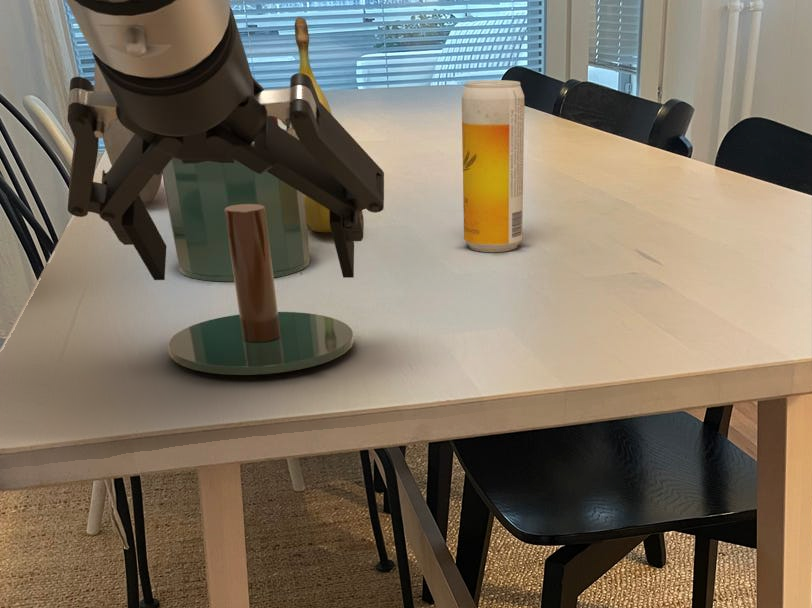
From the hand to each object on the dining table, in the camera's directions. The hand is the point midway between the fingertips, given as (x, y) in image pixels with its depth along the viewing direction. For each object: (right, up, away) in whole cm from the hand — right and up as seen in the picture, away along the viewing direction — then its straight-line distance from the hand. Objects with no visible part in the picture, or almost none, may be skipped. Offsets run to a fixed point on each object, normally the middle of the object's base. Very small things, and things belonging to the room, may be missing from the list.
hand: (254, 262), depth 71 cm
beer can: (+18, +14, +32) cm, 39 cm away
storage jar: (-7, +10, +26) cm, 29 cm away
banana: (-2, +20, +42) cm, 46 cm away
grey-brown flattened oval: (-26, +28, +54) cm, 66 cm away
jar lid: (0, -5, +3) cm, 6 cm away
